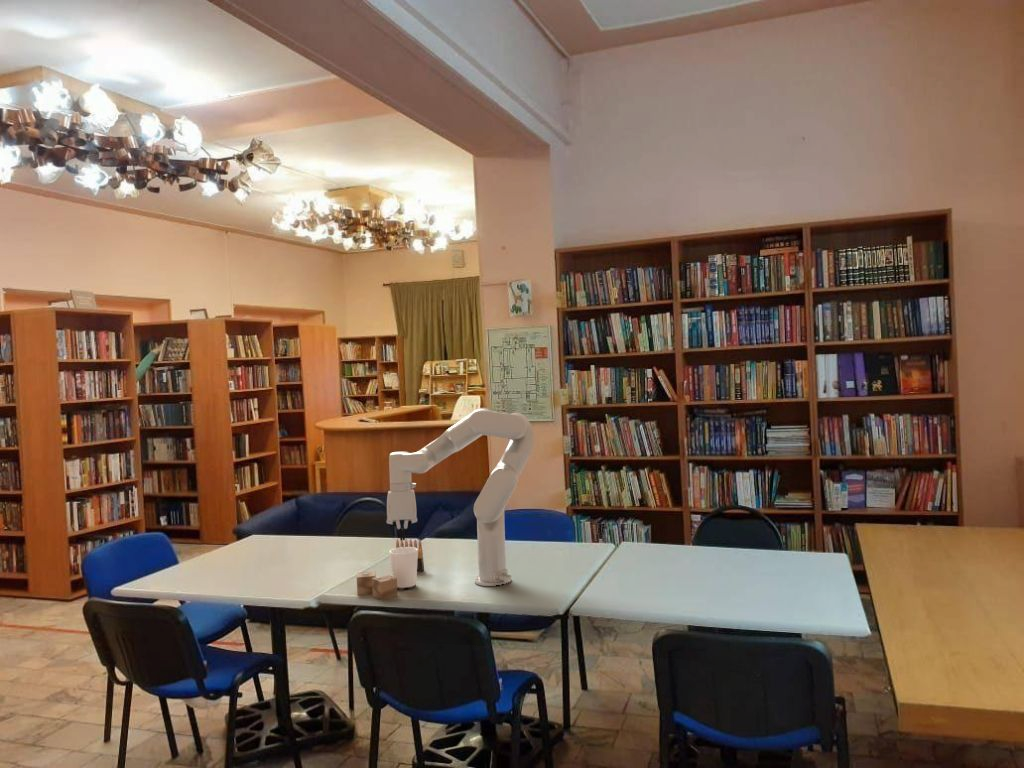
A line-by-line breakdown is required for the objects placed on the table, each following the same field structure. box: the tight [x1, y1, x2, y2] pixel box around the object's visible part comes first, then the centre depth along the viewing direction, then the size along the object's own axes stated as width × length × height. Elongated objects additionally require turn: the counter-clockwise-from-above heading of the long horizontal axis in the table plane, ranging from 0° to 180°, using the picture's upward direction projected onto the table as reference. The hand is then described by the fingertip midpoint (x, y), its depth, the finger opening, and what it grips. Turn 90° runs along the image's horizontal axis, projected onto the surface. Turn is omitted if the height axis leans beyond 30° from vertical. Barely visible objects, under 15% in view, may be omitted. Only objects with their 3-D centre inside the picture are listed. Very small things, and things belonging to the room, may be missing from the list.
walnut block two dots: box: [372, 574, 398, 601], centre depth 246 cm, size 6×6×6 cm
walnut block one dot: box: [356, 571, 377, 596], centre depth 252 cm, size 6×6×6 cm
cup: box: [389, 546, 418, 591], centre depth 255 cm, size 10×10×13 cm
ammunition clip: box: [395, 538, 425, 573], centre depth 276 cm, size 11×2×12 cm, turn 78°
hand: (402, 539), depth 259 cm, fingers closed
